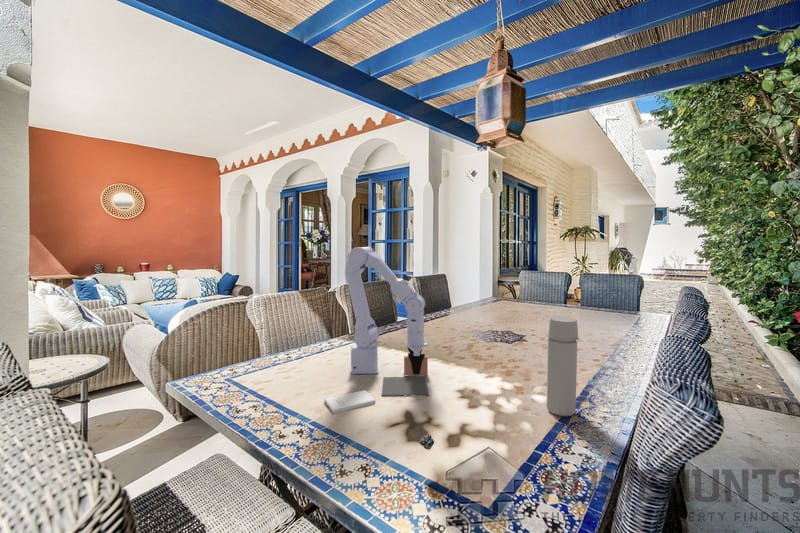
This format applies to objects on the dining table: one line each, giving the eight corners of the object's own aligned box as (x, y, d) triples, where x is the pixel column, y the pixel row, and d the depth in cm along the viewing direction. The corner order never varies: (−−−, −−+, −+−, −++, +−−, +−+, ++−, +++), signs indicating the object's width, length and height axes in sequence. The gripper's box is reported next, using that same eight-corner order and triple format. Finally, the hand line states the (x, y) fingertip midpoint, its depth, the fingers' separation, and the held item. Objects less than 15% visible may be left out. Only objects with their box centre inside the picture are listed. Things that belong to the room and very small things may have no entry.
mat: (381, 396, 107) (381, 394, 107) (383, 378, 121) (383, 377, 121) (428, 395, 107) (428, 394, 107) (425, 377, 121) (425, 376, 121)
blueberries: (441, 436, 86) (441, 428, 86) (446, 453, 78) (446, 445, 78) (413, 437, 86) (413, 429, 86) (415, 454, 78) (415, 446, 78)
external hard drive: (375, 405, 102) (332, 415, 96) (364, 394, 109) (324, 403, 104) (375, 399, 102) (332, 409, 96) (364, 389, 109) (324, 397, 104)
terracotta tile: (404, 375, 123) (404, 357, 123) (404, 374, 125) (404, 355, 124) (427, 375, 123) (427, 357, 123) (427, 373, 125) (427, 355, 124)
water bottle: (575, 420, 91) (577, 323, 89) (542, 413, 95) (544, 320, 94) (579, 406, 99) (581, 316, 97) (548, 400, 103) (550, 314, 101)
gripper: (429, 336, 116) (429, 377, 117) (425, 326, 130) (425, 362, 131) (407, 336, 116) (407, 378, 117) (406, 326, 130) (406, 363, 131)
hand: (415, 370), depth 124 cm, fingers open, 7 cm apart
